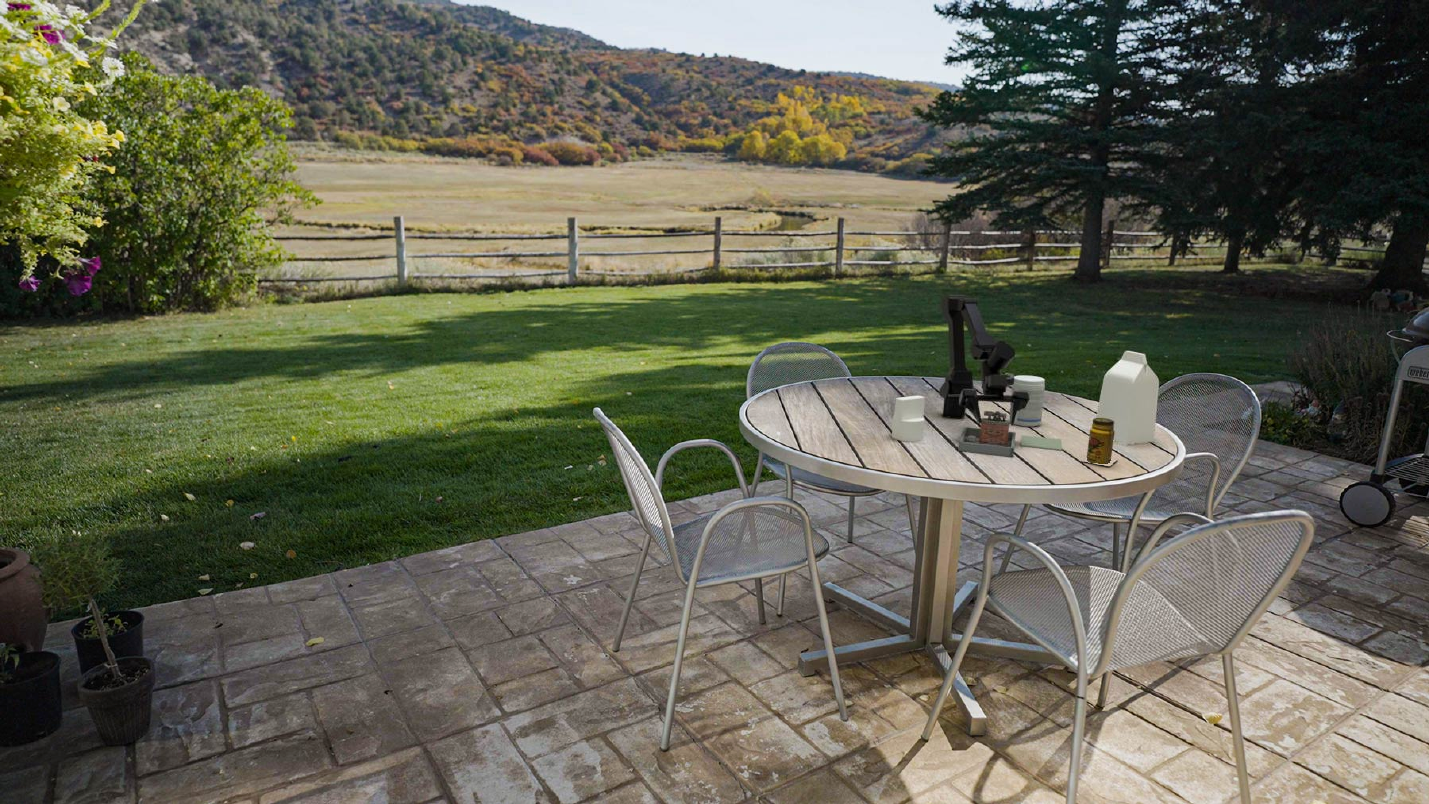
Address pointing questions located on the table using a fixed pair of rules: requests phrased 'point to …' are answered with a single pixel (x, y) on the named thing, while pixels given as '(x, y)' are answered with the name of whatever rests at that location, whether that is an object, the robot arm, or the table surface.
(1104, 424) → the condiment
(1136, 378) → the milk
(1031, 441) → the mat
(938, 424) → the table surface
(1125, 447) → the table surface
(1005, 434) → the lighter
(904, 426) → the base with upright slab
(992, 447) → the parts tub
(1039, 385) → the supplement tub
